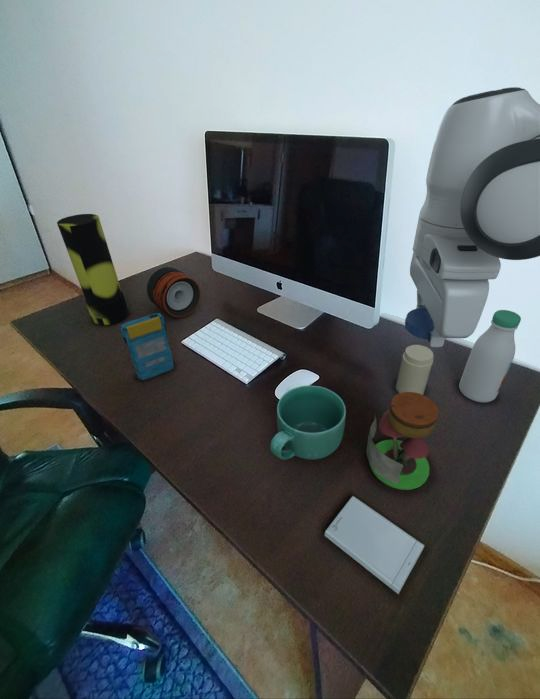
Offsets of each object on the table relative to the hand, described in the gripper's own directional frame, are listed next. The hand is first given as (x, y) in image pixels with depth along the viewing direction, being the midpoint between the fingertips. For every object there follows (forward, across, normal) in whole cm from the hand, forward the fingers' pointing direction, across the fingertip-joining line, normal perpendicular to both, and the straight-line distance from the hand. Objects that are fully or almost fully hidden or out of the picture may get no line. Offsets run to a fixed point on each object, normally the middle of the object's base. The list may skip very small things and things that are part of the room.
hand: (428, 329), depth 56 cm
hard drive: (+27, +20, -8) cm, 34 cm away
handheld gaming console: (+26, -19, -56) cm, 64 cm away
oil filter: (+26, -50, -60) cm, 82 cm away
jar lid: (-2, 0, 0) cm, 2 cm away
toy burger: (+27, +4, -1) cm, 27 cm away
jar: (+26, -16, +5) cm, 31 cm away
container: (+26, -44, -80) cm, 95 cm away
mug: (+27, +2, -19) cm, 33 cm away
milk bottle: (+27, -16, +20) cm, 37 cm away
